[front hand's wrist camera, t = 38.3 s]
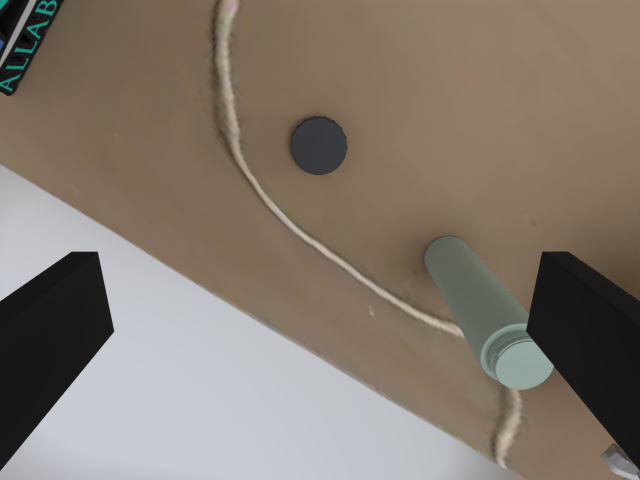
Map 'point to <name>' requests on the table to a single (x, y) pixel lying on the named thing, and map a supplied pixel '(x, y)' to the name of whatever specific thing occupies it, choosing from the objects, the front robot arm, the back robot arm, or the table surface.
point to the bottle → (486, 315)
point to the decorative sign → (21, 36)
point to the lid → (318, 145)
